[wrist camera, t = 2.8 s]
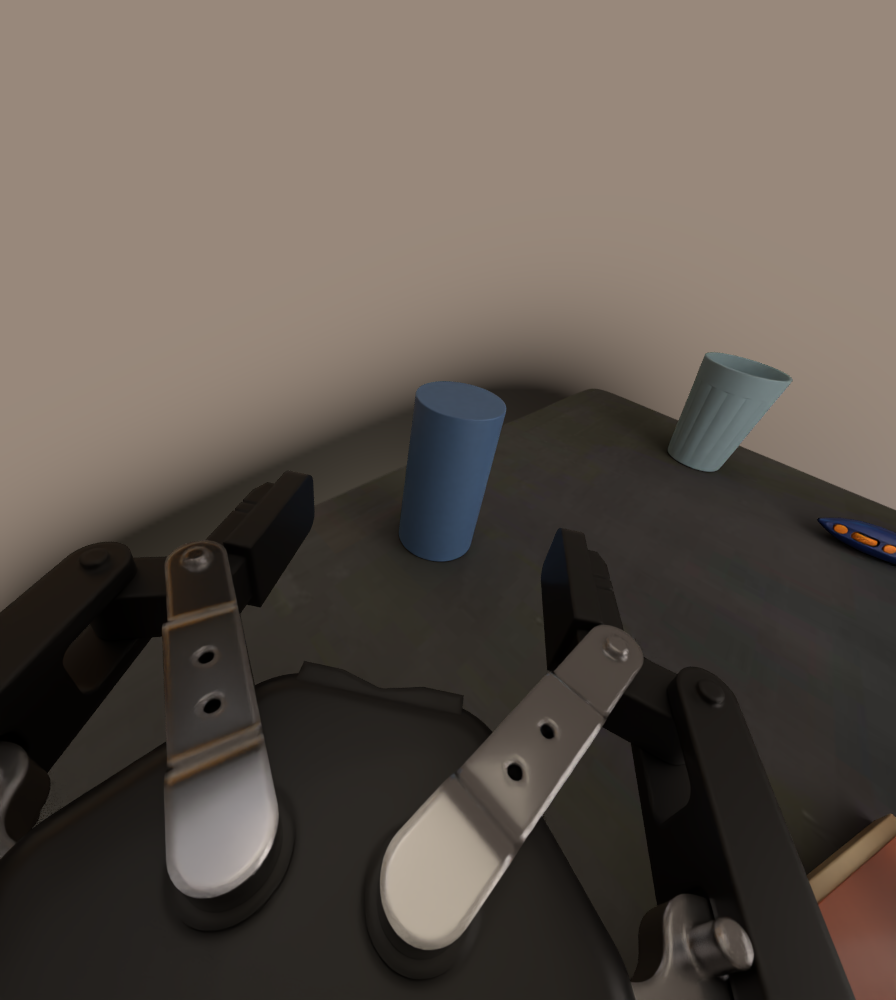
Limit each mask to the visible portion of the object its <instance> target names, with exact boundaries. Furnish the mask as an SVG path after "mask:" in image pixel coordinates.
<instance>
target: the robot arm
mask: <svg viewBox="0 0 896 1000" xmlns="http://www.w3.org/2000/svg"><path fill="white" fill-rule="evenodd" d="M313 520H314V491H313V479H312V476H311V475H306V474H302V473H298V472H293V471H286V472H284V473H283V475H282V476H281V477H280V478H279V479H278V480H277V482H276V483H275V484H273V483H269V482H267V483H265V484H263V485H261V486H259V487H257V488H255V489H253V490H252V491H251V492H250V493H249V494H248V495H247V496H246V498H245V499H244V500H243V502H241V503H240V504H239V505H238V506H237V507H236V508H235V511H232V512H231V513H230V514H229V516H228V517H227V518H226V519H225V520H224V521H223V522H222V523H221V524H220V525H219V526H218V527H217V528H216V529H215V530H214V531H213V533H211V535H210V536H209V537H208V538H207V539H206V540H202V541H194V542H190V543H187V544H184V545H182V546H180V547H178V548H176V549H175V550H174V551H172V552H171V553H170V554H169V556H167V557H141V558H133V556H132V554H131V551H130V549H129V548H128V547H127V546H126V545H124V544H121V543H117V542H101V543H96V544H91V545H88V546H85V547H82V548H81V549H78V550H76V551H75V552H73V553H71V554H70V555H69V556H67V557H66V558H65V559H64V560H62V561H61V562H60V563H59V564H58V565H57V566H55V567H54V568H53V569H52V570H51V571H49V572H48V573H47V574H46V575H45V576H43V577H42V578H41V579H40V580H39V581H37V582H36V583H35V584H34V585H33V586H32V587H30V588H29V589H28V590H27V591H25V592H24V593H23V594H22V595H21V596H19V597H18V598H17V599H16V600H15V601H14V602H12V603H11V604H10V605H9V606H8V607H6V608H5V609H4V610H3V611H2V612H0V1000H856V999H855V996H854V994H853V991H852V988H851V986H850V983H849V981H848V978H847V976H846V973H845V971H844V968H843V966H842V963H841V961H840V958H839V956H838V953H837V951H836V948H835V946H834V943H833V941H832V938H831V936H830V933H829V931H828V928H827V925H826V923H825V920H824V918H823V915H822V913H821V910H820V908H819V905H818V903H817V900H816V898H815V895H814V893H813V890H812V888H811V885H810V883H809V880H808V878H807V875H806V873H805V870H804V868H803V865H802V863H801V860H800V857H799V855H798V852H797V850H796V847H795V845H794V842H793V840H792V837H791V835H790V832H789V830H788V827H787V825H786V822H785V820H784V817H783V815H782V812H781V810H780V807H779V805H778V802H777V800H776V797H775V795H774V792H773V789H772V787H771V784H770V782H769V779H768V777H767V774H766V772H765V769H764V767H763V764H762V762H761V759H760V757H759V754H758V752H757V749H756V747H755V744H754V742H753V739H752V737H751V734H750V732H749V729H748V727H747V724H746V721H745V719H744V716H743V714H742V711H741V709H740V706H739V704H738V701H737V699H736V697H735V695H734V694H733V692H732V691H731V690H730V688H729V687H728V686H727V685H726V684H725V683H724V682H723V681H722V680H721V679H719V678H718V677H717V676H715V675H714V674H712V673H710V672H709V671H707V670H704V669H701V668H698V667H686V668H683V669H682V670H681V671H680V672H679V673H678V674H676V673H674V672H672V671H670V670H668V669H666V668H664V667H661V666H659V665H657V664H655V663H653V662H652V661H650V660H648V659H646V658H645V657H643V654H642V651H641V649H640V647H639V645H638V644H637V642H636V641H635V640H634V639H633V638H632V637H631V636H630V635H629V634H627V633H626V632H624V630H623V626H622V622H621V618H620V614H619V611H618V607H617V603H616V599H615V595H614V592H613V591H612V590H613V587H612V584H611V581H610V576H609V572H608V568H607V565H606V563H605V562H604V561H603V559H602V558H601V557H600V555H599V554H598V552H595V551H590V550H588V549H587V544H586V539H585V535H584V533H582V532H577V531H572V530H568V529H563V528H559V529H558V530H557V532H556V534H555V537H554V539H553V542H552V544H551V547H550V549H549V552H548V554H547V556H546V559H545V561H544V564H543V568H542V574H541V588H542V602H543V617H544V631H545V645H546V659H547V670H549V672H548V673H547V674H546V675H545V676H544V677H543V678H542V679H541V680H540V681H539V682H538V684H537V685H536V686H535V687H534V688H533V689H532V690H531V691H530V692H529V693H528V694H527V696H526V697H525V698H524V699H523V700H522V701H521V702H520V703H519V704H518V705H517V707H516V708H515V709H514V710H513V711H512V712H511V713H510V714H509V715H508V716H507V717H506V719H505V720H504V721H503V722H502V723H501V724H500V725H499V726H498V727H497V728H496V729H495V731H494V732H492V731H491V730H490V729H489V728H488V727H487V726H486V725H485V724H484V723H483V722H482V721H481V720H480V719H478V718H477V717H476V716H474V715H473V714H471V713H470V712H468V711H466V710H464V709H463V708H462V706H463V695H459V694H454V693H449V692H445V691H440V690H436V689H431V688H426V687H413V688H387V689H384V688H379V687H376V686H374V685H373V684H371V683H369V682H367V681H365V680H363V679H361V678H359V677H357V676H355V675H353V674H351V673H349V672H347V671H345V670H343V669H339V668H334V667H329V666H325V665H320V664H315V663H311V662H306V661H304V663H303V665H302V667H301V669H300V672H299V673H297V674H288V675H282V676H278V677H274V678H271V679H269V680H266V681H263V682H261V683H259V684H257V685H255V684H254V679H253V674H252V669H251V665H250V660H249V655H248V650H247V645H246V640H245V635H244V631H243V626H242V621H241V616H240V613H241V612H242V610H243V609H244V608H245V606H246V605H252V606H256V607H261V606H262V604H263V603H264V601H265V600H266V598H267V597H268V595H269V594H270V592H271V590H272V589H273V587H274V586H275V584H276V583H277V581H278V580H279V578H280V576H281V575H282V573H283V572H284V570H285V569H286V567H287V566H288V564H289V563H290V561H291V559H292V558H293V556H294V555H295V553H296V552H297V550H298V549H299V547H300V545H301V544H302V542H303V541H304V539H305V538H306V536H307V535H308V533H309V531H310V529H311V527H312V524H313ZM89 624H90V625H89ZM88 625H89V626H88ZM87 626H88V627H87ZM86 627H87V628H86ZM85 628H86V629H85ZM84 629H85V630H84ZM161 636H162V644H163V669H164V694H165V719H166V742H165V743H163V744H162V745H160V746H158V747H157V748H155V749H154V750H152V751H151V752H149V753H147V754H146V755H144V756H143V757H141V758H140V759H138V760H136V761H135V762H133V763H132V764H130V765H129V766H127V767H126V768H124V769H122V770H121V771H119V772H118V773H116V774H115V775H113V776H111V777H110V778H108V779H107V780H105V781H104V782H102V783H100V784H99V785H97V786H96V787H94V788H93V789H91V790H90V791H88V792H86V793H85V794H83V795H82V796H80V797H79V798H77V799H75V800H74V801H72V802H71V803H69V804H68V805H66V806H65V807H63V808H61V809H60V810H58V811H57V812H55V813H54V814H52V815H51V816H49V817H48V818H46V819H45V820H43V821H42V822H41V823H39V824H38V825H36V826H35V824H36V823H37V821H38V819H39V816H40V811H41V809H42V807H43V806H44V804H45V802H46V800H47V798H48V795H49V792H50V784H51V782H50V777H49V775H48V772H49V770H50V769H51V768H52V766H53V765H54V764H55V763H56V761H57V760H58V759H59V757H60V756H61V755H62V753H63V752H64V751H65V750H66V748H67V747H68V746H69V744H70V743H71V742H72V740H73V739H74V738H75V737H76V735H77V734H78V733H79V731H80V730H81V729H82V728H83V726H84V725H85V724H86V722H87V721H88V720H89V718H90V717H91V716H92V715H93V713H94V712H95V711H96V709H97V708H98V707H99V706H100V704H101V703H102V702H103V700H104V699H105V698H106V696H107V695H108V694H109V693H110V691H111V690H112V689H113V687H114V686H115V685H116V683H117V682H118V681H119V680H120V678H121V677H122V676H123V674H124V673H125V672H126V671H127V669H128V668H129V667H130V665H131V664H132V663H133V661H134V660H135V659H136V658H137V656H138V655H139V654H140V652H141V651H142V650H143V648H144V647H145V646H146V645H147V643H148V642H149V641H150V639H151V638H152V637H161ZM76 638H77V639H76ZM75 639H76V640H75ZM74 640H75V641H74ZM73 641H74V642H73ZM72 642H73V643H72ZM71 643H72V644H71ZM70 644H71V645H70ZM602 727H603V728H605V729H607V730H609V731H610V732H612V733H614V734H616V735H618V736H619V737H621V738H623V739H625V740H627V741H628V742H630V743H631V747H632V753H633V759H634V765H635V772H636V778H637V784H638V790H639V796H640V802H641V809H642V815H643V821H644V827H645V833H646V839H647V846H648V852H649V858H650V864H651V870H652V876H653V883H654V889H655V895H656V901H657V906H656V907H654V908H652V909H650V910H649V911H647V913H646V914H645V915H644V916H643V918H642V920H641V923H640V927H639V934H638V947H639V955H638V963H637V967H636V970H635V972H634V975H633V977H632V978H631V979H629V975H628V973H627V970H626V968H625V965H624V963H623V960H622V958H621V956H620V954H619V952H618V949H617V947H616V946H615V944H614V942H613V940H612V938H611V937H610V935H609V933H608V931H607V930H606V928H605V926H604V924H603V923H602V921H601V919H600V917H599V916H598V914H597V912H596V910H595V908H594V907H593V905H592V903H591V901H590V900H589V898H588V896H587V894H586V893H585V891H584V889H583V887H582V886H581V884H580V882H579V880H578V878H577V877H576V875H575V873H574V871H573V870H572V868H571V866H570V864H569V863H568V861H567V859H566V857H565V856H564V854H563V852H562V850H561V848H560V847H559V845H558V843H557V841H556V840H555V838H554V836H553V834H552V833H551V831H550V829H549V827H548V826H547V824H546V822H545V820H544V818H543V817H542V815H543V813H544V812H545V810H546V809H547V807H548V806H549V804H550V803H551V801H552V800H553V798H554V797H555V795H556V794H557V793H558V791H559V790H560V788H561V787H562V785H563V784H564V782H565V781H566V779H567V778H568V776H569V775H570V773H571V772H572V770H573V769H574V767H575V766H576V765H577V763H578V762H579V760H580V759H581V757H582V756H583V754H584V753H585V751H586V750H587V748H588V747H589V745H590V744H591V742H592V741H593V739H594V738H595V736H596V735H597V734H598V732H599V731H600V729H601V728H602ZM34 826H35V827H34ZM33 827H34V828H33ZM32 828H33V829H32Z"/></svg>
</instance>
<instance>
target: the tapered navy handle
mask: <svg viewBox="0 0 896 1000" xmlns="http://www.w3.org/2000/svg"><path fill="white" fill-rule="evenodd" d="M817 521H818V522H819V523H820V524H821V525H822V526H823V527H824V528H825V529H826V530H827V531H828V532H829V533H830V534H831V535H833V536H834V537H835V538H837V539H838V540H840V541H842V542H843V543H845V544H847V545H849V546H851V547H852V548H855V549H857V550H859V551H861V552H863V553H866V554H868V555H871V556H873V557H876V558H878V559H881V560H884V561H886V562H889V563H892V564H895V565H896V533H895V532H893V531H890V530H887V529H884V528H882V527H879V526H876V525H873V524H870V523H866V522H862V521H858V520H852V519H846V518H818V519H817Z"/></svg>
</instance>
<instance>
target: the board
mask: <svg viewBox="0 0 896 1000" xmlns="http://www.w3.org/2000/svg"><path fill="white" fill-rule="evenodd" d="M807 878H808V880H809V883H810V885H811V888H812V890H813V893H814V895H815V898H816V900H817V903H818V905H819V908H820V910H821V913H822V915H823V918H824V920H825V923H826V925H827V928H828V931H829V933H830V936H831V938H832V941H833V943H834V946H835V948H836V951H837V953H838V956H839V958H840V961H841V963H842V966H843V968H844V971H845V973H846V976H847V978H848V981H849V983H850V986H851V988H852V991H853V994H854V996H855V999H856V1000H896V817H895V816H894V815H892V814H888V815H886V816H884V817H881V818H879V819H877V820H875V821H873V822H872V823H871V824H869V825H868V826H867V827H866V828H865V829H863V830H862V831H861V832H860V833H858V834H857V835H856V836H855V837H853V838H852V839H851V840H850V841H848V842H847V843H846V844H845V845H844V846H842V847H841V848H840V849H839V850H837V851H836V852H835V853H834V854H832V855H831V856H830V857H829V858H827V859H826V860H825V861H824V862H823V863H821V864H820V865H819V866H818V867H816V868H815V869H814V870H813V871H811V872H810V873H809V874H808V875H807Z"/></svg>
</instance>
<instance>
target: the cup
mask: <svg viewBox="0 0 896 1000" xmlns="http://www.w3.org/2000/svg"><path fill="white" fill-rule="evenodd" d="M791 382H792V378H791V377H790V376H789V375H787V374H785V373H784V372H781V371H779V370H777V369H775V368H773V367H770V366H768V365H765V364H762V363H759V362H756V361H753V360H750V359H746V358H742V357H738V356H734V355H729V354H724V353H714V352H710V353H706V354H705V356H704V359H703V361H702V363H701V366H700V368H699V371H698V373H697V376H696V379H695V381H694V384H693V386H692V389H691V391H690V394H689V396H688V399H687V401H686V404H685V406H684V409H683V411H682V414H681V416H680V419H679V421H678V423H677V426H676V428H675V431H674V433H673V436H672V438H671V441H670V444H669V446H668V453H669V454H670V455H671V456H672V457H673V458H674V459H675V460H677V461H679V462H680V463H682V464H684V465H686V466H689V467H691V468H694V469H697V470H701V471H708V472H713V471H716V470H718V469H719V468H720V467H721V466H722V465H723V464H724V463H725V461H726V460H727V459H728V458H729V457H730V455H731V454H732V453H733V452H734V451H735V449H736V448H737V447H738V446H739V445H740V443H741V442H742V441H743V440H744V438H745V437H746V436H747V435H748V434H749V433H750V431H751V430H752V429H753V427H754V426H755V425H756V424H757V423H758V422H759V420H760V419H761V418H762V417H763V416H764V414H765V413H766V412H767V411H768V410H769V408H770V407H771V406H772V405H773V403H774V402H775V401H776V400H777V399H778V398H779V397H780V395H781V394H782V393H783V392H784V391H785V389H786V388H787V387H788V386H789V385H790V383H791Z"/></svg>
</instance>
